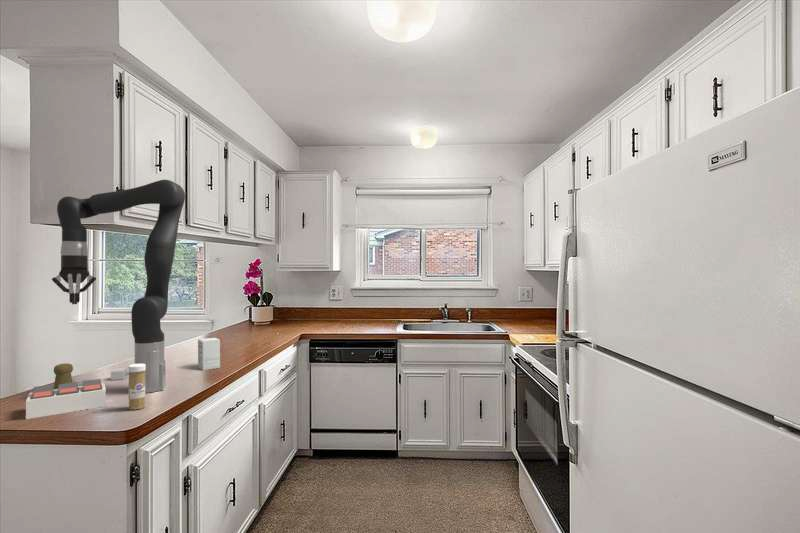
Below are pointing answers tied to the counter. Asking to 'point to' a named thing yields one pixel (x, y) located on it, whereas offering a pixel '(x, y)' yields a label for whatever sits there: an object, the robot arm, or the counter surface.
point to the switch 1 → (42, 391)
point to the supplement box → (208, 353)
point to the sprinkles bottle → (136, 386)
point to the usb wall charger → (119, 374)
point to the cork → (62, 374)
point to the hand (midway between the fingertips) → (74, 304)
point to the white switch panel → (65, 402)
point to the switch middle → (68, 388)
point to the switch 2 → (91, 385)
